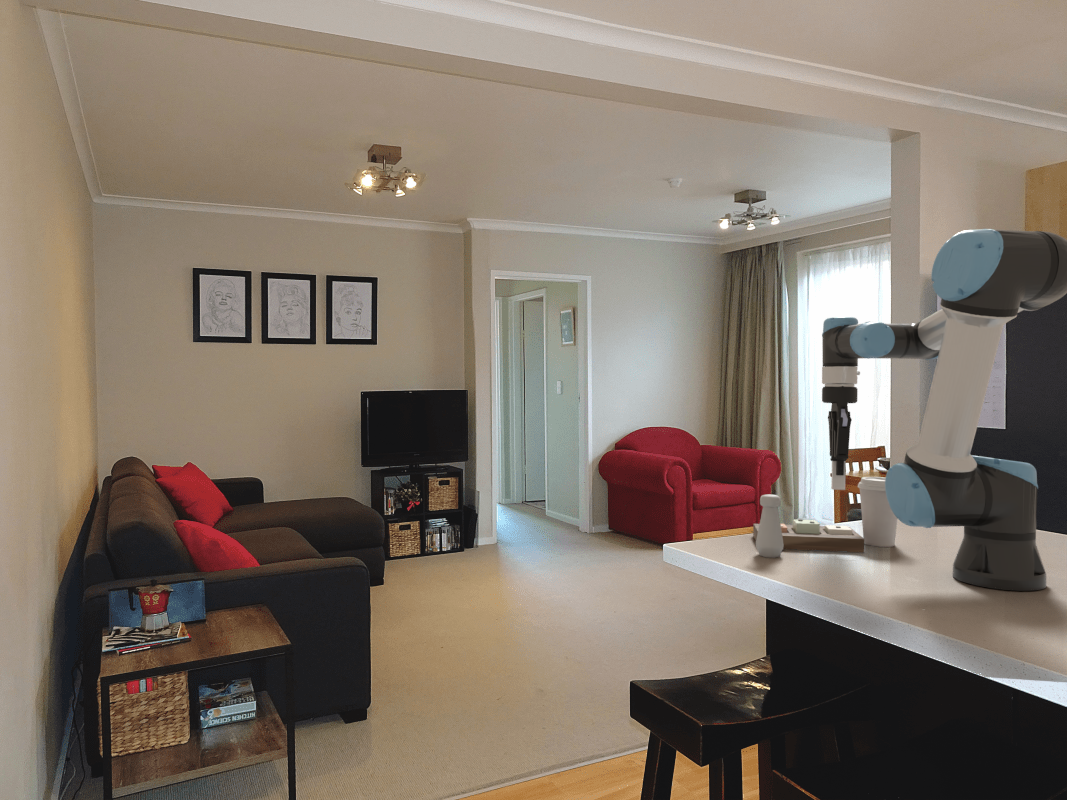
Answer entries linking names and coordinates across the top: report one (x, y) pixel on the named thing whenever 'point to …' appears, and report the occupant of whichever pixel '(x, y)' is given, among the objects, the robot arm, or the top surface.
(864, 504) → the coffee cup
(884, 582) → the top surface
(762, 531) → the salt shaker
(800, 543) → the button board
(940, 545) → the top surface
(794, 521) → the pale green square block
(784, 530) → the tile
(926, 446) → the robot arm
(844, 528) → the cream square block
